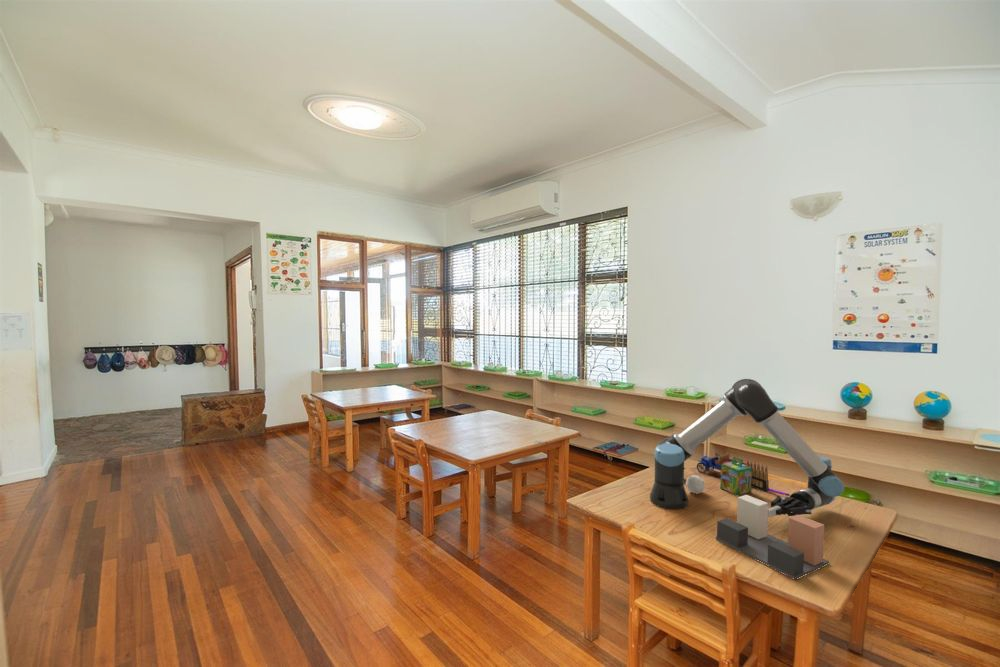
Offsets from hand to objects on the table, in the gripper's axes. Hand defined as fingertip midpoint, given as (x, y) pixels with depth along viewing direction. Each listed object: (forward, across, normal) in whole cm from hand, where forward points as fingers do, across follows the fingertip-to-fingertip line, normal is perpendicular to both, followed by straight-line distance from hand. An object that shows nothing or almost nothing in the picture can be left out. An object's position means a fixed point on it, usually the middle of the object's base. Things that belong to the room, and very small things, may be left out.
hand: (768, 513), depth 164 cm
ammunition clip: (-35, +27, -7) cm, 44 cm away
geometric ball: (-5, +36, -7) cm, 37 cm away
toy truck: (-33, +42, -7) cm, 54 cm away
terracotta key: (+9, -18, -5) cm, 21 cm away
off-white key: (+9, 0, -5) cm, 11 cm away
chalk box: (-23, +29, -7) cm, 38 cm away
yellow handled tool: (-39, +16, -7) cm, 43 cm away
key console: (+14, -9, -6) cm, 17 cm away
